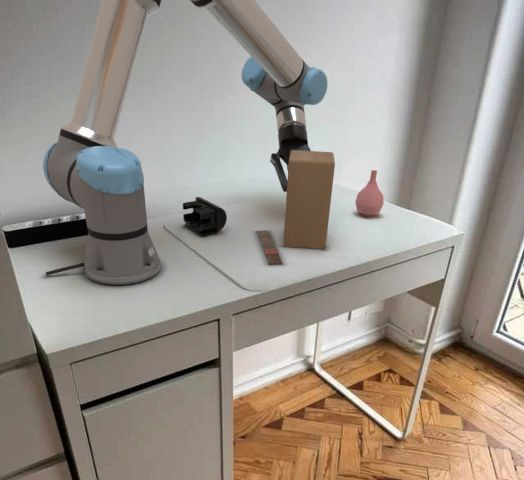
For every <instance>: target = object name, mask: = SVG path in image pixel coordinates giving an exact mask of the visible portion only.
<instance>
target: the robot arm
mask: <svg viewBox="0 0 524 480" xmlns="http://www.w3.org/2000/svg"><path fill="white" fill-rule="evenodd" d="M189 1H190V2H191V3H192V4H193V5H194V6H195V7H196V8H198V9H203V8H205V9H206V11H208V13H209V14H210V15H211V16H212V17H213V18H214V19H215V20H216V21H217V22H218V24H220V25H221V27H222V28H224V30H226V32H227V33H228V34H229V35H230V36H231V37H232V38H233V39H234V40H235V41H236V42H237V43H238V44H239V45H240V47H242V49H244V51H245V52H246V53H247V54H248V55H249V57H248V59H246V61H245V63H244V64H243V67H242V69H241V80H242V82H243V84H244V85H245V86H246V87H247V88H248V89H249V90H250V91H251V92H254V93H255V94H256V95H258V96H259V97H261V98H262V99H263V100H264V101H265V102H267V103H269V104H270V105H271V106H272V107H274V109H275V117H276V125H277V126H276V127H277V128H276V129H277V138H278V139H277V140H278V150H277V152H272V153H271V155H270V159H269V162H270V163H271V165H272V166H273V167H274V169H275V172H276V175H277V178H278V182H279V183H280V187H281V191H282V192H284V193H287V181H288V177H287V176H286V175H287V174H286V172H285V169H284V166H283V163H284V164H285V165H286V170H287V171H288V165H289V157H290V152H291V150H302V151H312V150H311V148H310V146H309V139H308V131H307V122H306V113H305V106H306V105H308V106H316V105H318V104H320V103H321V102H322V101H323V100H324V98H325V97H326V94H327V92H328V91H327V90H328V78H327V75H326V72H325V71H324V70H322V69H320V68H317V67H315V66H312V67H310V66H309V65H308V64H307V62H306V61H305V60H304V59H303V58H302V57H301V55H300V54H299V53H298V52H297V51H296V49H295V48H294V47H293V46H292V45H291V43H290V42H289V41H288V40H287V38H286V37H285V36H284V35H283V33H282V32H281V31H280V30H279V28H278V27H277V26H276V25H275V24H274V22H273V21H272V20H271V18H270V17H269V16H268V15H267V14H266V12H265V11H264V10H263V9H262V8H261V6H260V5H259V4H258V2H256V0H189ZM161 3H162V0H101V4H100V8H99V12H98V16H97V20H96V24H95V27H94V31H93V36H92V39H91V43H90V47H89V51H88V55H87V59H86V63H85V67H84V70H83V74H82V78H81V81H80V82H81V83H80V86H79V90H78V94H77V97H76V102H75V105H74V110H73V114H72V116H71V117H72V118H71V121H70V122H68V123H66V124H64V125H62V126H61V127H60V130H59V135H58V138H57V141H56V142H55V143H53V144H52V145H50V146H49V148H48V149H47V150H46V152H45V154H44V157H43V160H42V161H43V162H42V169H43V175H44V177H45V180H46V182H47V183H48V185H49V186H50V188H51V189H52V190H53V191H55V193H56V194H57V195H58V196H59V197H61V198H62V199H63V200H65V201H68V202H70V203H72V204H74V205H76V206H77V207H79V208H81V209H83V211H84V217H85V222H86V229H87V234H88V238H87V244H86V250H85V256H84V261H83V262H82V263H81V262H80V263H76V264H73V265H68V266H65V267H60V268H56V269H52V270H48V271H45V275H46V276H50V275H54V274H58V273H62V272H65V271H69V270H70V271H71V270H74V269H79V268H83V269H84V274H85V276H86V277H87V278H88V279H89V280H91V281H93V282H95V283H98V284H102V285H110V286H125V285H133V284H138V283H142V282H145V281H147V280H150V279H152V278H153V277H155V276H157V274H158V273H159V272H160V270H161V261H160V257H159V255H158V252H157V250H156V247H155V245H154V243H153V241H152V238H151V236H150V234H149V229H148V218H147V217H148V216H147V207H146V206H147V205H146V196H145V195H146V194H145V176H144V172H143V168H142V163H141V160H140V158H139V156H137V155H136V154H135V153H134V152H133V151H130V150H128V149H125V148H123V147H118V145H117V143H116V140H115V137H116V133H117V130H118V126H119V123H120V119H121V115H122V112H123V108H124V105H125V101H126V97H127V93H128V90H129V87H130V83H131V80H132V77H133V72H134V69H135V65H136V62H137V58H138V55H139V51H140V47H141V44H142V40H143V36H144V32H145V29H146V26H147V22H148V19H149V17H150V16H151V15H154V14H157V13H158V12H159V10H160V6H161ZM281 160H282V161H281ZM282 162H283V163H282Z"/></svg>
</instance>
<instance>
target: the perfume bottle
mask: <svg viewBox="0 0 524 480" xmlns="http://www.w3.org/2000/svg"><path fill="white" fill-rule="evenodd" d="M377 175H378V171H377V170H375V169H373V170H371V171H370V176H369V177H370V178H369V180H368V182H367V184H366V185H365V186H364V187H363V188H362V189H361V190H359V191H358V193H357V195H356V198H355V207H356V209H355V210H356V211H357V212H358V213H361V214H363V216H366V217H372V216H373V215H377V214H379V213H380V212H381V211H382V208H383V206H384V194H383V193H382V191H381V190H380V188H379V186H378V182H377Z"/></svg>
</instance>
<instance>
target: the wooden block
mask: <svg viewBox="0 0 524 480" xmlns="http://www.w3.org/2000/svg"><path fill="white" fill-rule="evenodd" d="M335 168H336V162H335V154H334V152H332V151H317V150H311V151H302V150H291V152H290V157H289V165H288V170H287V192H286V198H285V213H284V231H283V246H284V247H287V248H302V249H314V250H316V249H317V250H325V249H326V248H327V238H328V229H329V220H330V212H331V211H330V210H331V204H332V196H333V195H332V194H333V186H334V185H333V184H334V176H335Z"/></svg>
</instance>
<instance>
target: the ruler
mask: <svg viewBox="0 0 524 480" xmlns="http://www.w3.org/2000/svg"><path fill="white" fill-rule="evenodd" d="M256 234H257V237H258V240H259V242H260V245H261V247H262V250H263V252H264V255H265V258H266V261H267V264H268V265H269V266H272V265H274V266H277V265H279V266H280V265H281V266H282V265H283V261H282V259H281V256H280V254H279V253H280V252H279V251H278V249H277V247H276V245H275V242H274V240H273V237H272V235H271V232H270V231H269V230H256Z"/></svg>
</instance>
